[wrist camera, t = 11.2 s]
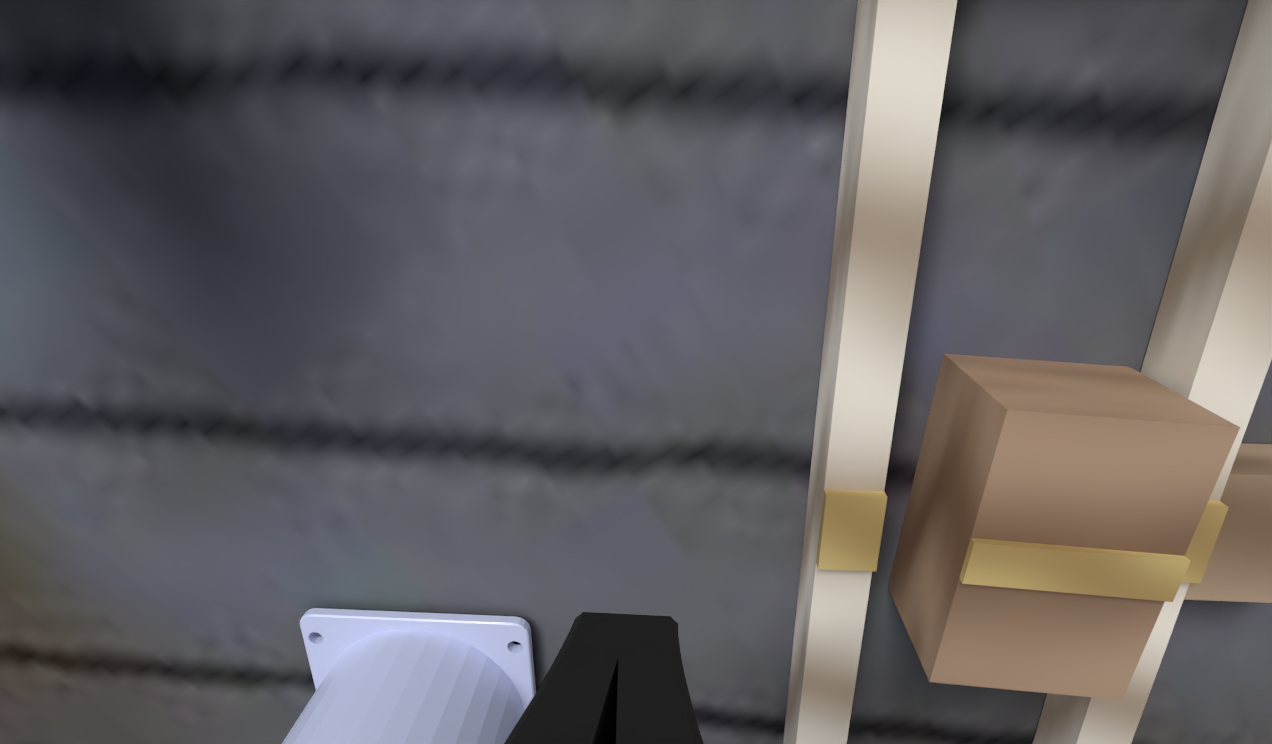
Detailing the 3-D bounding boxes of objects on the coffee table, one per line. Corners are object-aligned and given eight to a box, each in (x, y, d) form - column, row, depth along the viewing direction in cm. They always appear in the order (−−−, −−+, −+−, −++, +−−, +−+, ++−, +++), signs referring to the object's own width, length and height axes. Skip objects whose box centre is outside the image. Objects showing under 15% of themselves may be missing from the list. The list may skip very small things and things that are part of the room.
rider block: (1043, 597, 21) (1126, 706, 17) (885, 582, 21) (932, 688, 17) (1124, 364, 18) (1247, 431, 14) (940, 351, 18) (1011, 413, 14)
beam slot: (1130, 849, 24) (1170, 913, 22) (774, 827, 25) (782, 886, 23) (1552, -209, 13) (1706, -268, 11) (876, -182, 14) (908, -233, 12)
